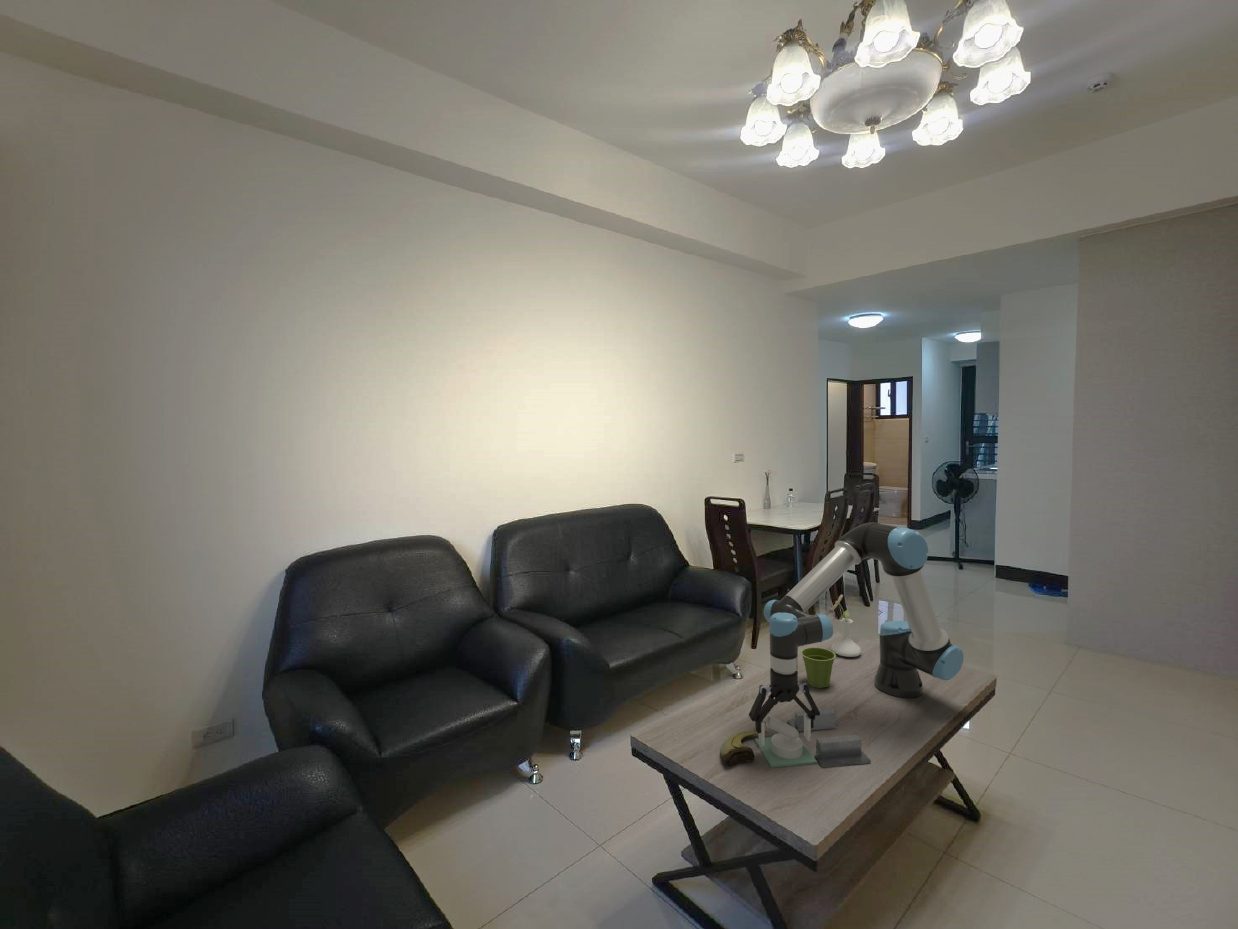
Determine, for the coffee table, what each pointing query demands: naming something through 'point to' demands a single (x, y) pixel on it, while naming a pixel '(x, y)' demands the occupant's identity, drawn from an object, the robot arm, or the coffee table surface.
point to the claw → (737, 748)
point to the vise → (832, 741)
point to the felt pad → (782, 762)
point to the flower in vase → (845, 636)
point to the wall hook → (785, 739)
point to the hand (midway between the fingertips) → (784, 740)
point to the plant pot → (818, 665)
